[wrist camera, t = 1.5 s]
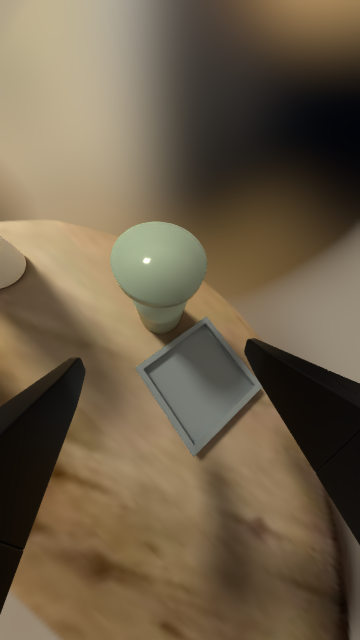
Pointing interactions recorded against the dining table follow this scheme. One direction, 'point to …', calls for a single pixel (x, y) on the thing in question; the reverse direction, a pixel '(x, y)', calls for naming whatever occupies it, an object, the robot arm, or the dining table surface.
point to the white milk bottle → (10, 263)
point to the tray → (198, 383)
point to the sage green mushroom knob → (158, 271)
